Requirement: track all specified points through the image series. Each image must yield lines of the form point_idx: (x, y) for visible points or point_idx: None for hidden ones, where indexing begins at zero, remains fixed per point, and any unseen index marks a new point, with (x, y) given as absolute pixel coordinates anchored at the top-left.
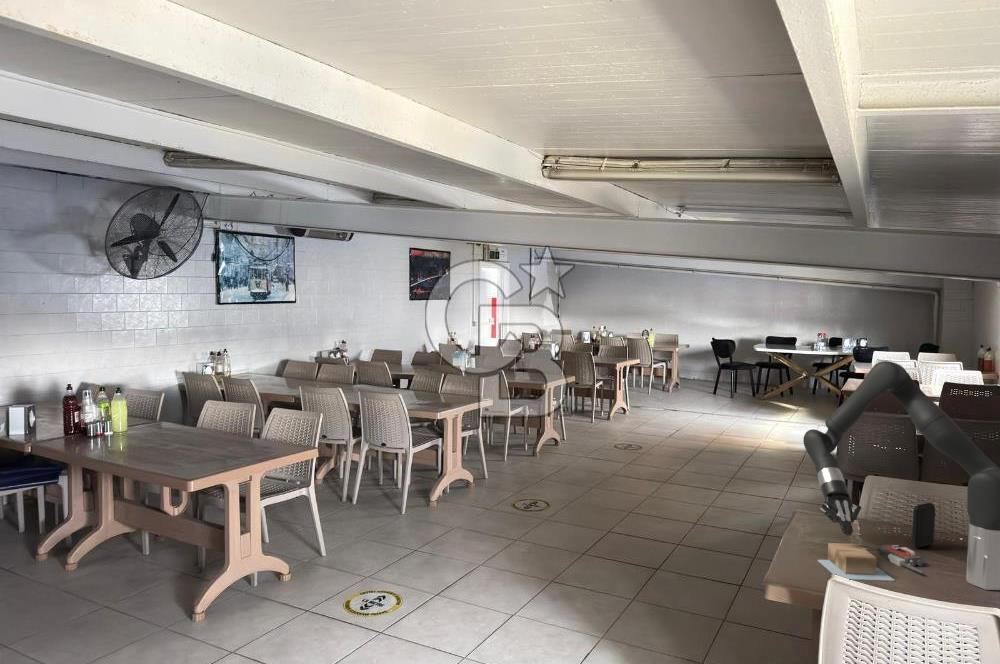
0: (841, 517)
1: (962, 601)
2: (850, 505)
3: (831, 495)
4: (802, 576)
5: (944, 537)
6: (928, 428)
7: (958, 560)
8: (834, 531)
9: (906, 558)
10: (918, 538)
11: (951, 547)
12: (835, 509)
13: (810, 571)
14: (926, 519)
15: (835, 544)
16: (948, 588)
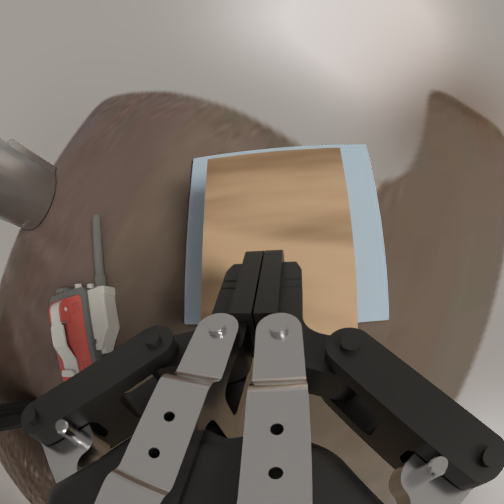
0: (290, 349)
1: (128, 99)
2: (87, 474)
3: None
4: (459, 165)
5: (10, 437)
6: None
7: (12, 328)
8: None
9: (81, 290)
10: (22, 404)
11: (7, 394)
12: (332, 462)
13: (437, 204)
14: None
15: (327, 323)
16: (102, 153)
